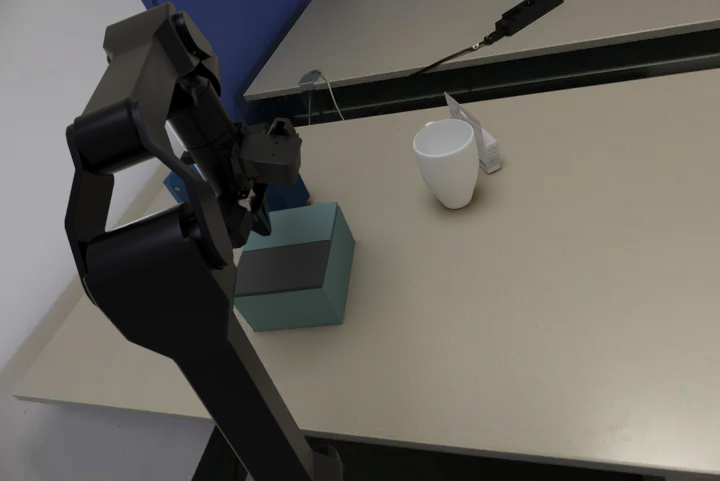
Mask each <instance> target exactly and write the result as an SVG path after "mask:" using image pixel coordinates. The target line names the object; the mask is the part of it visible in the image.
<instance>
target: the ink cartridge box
mask: <svg viewBox="0 0 720 481" xmlns="http://www.w3.org/2000/svg"><path fill="white" fill-rule="evenodd" d="M443 93H444V97H445V100H446V103H447V107H448V110H449V113H450V119H458V120H462V121H465V122H467V123H468V124H470V125H471V127H472V128H473V130H474V133H475V138H476V144H477V150H478V156H479V167H480V168H482V169H483V170H484V171H485V172H486V173H487V175H490V174H491V173H493V172H495V171H498V170H500V169H501V159H500V150H499V142H498V140H496V139H495V138H494V137H493V135H492V134H490V133H489V132H488V131H486V130H485V129H484V128H483V127H482V126H481V121H480V120H479V119H477V117H475V115H473V114H472V113H471V112H469V111H468V110H467V109H466V108H465V107H464V106H462V105H461V104H460V103H459V102H457V100H456V99H455V98H453V97H452V96H451V95H449V94H448V93H447V92H446V91H444V92H443ZM460 110H461V111H460Z"/></svg>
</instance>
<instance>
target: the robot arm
mask: <svg viewBox="0 0 720 481" xmlns="http://www.w3.org/2000/svg"><path fill="white" fill-rule="evenodd" d="M102 49H103V50H104V52H105V55H106V62H107V64H108V66H107V68H106V69H105V71H104V73H103V75H102V76H101V78H100V80H99V82H98V84H97V85H96V88H94V91H93V93H92V94H91V96H90V98H89V100H88V102H87V104H86V105H85V107H84V109H83V111H82V113H81V114H80V115H78V116H76V117H74V119H73V123H70V124H69V125H67V126H66V128H65V134H64V135H65V140H66V144H67V147H68V151H69V154H70V157H71V161H72V163H73V167H74V173H73V177H72V183H71V187H70V191H69V197H68V201H67V206H66V207H67V208H66V211H65V215H64V220H63V225H64V231H65V234H66V237H67V240H68V244H69V247H70V250H71V253H72V257H73V260H74V263H75V267H76V271H77V273H78V276H79V277H78V278H79V280H80V283H81V286H82V289H83V290H84V293H85V295H86V296H87V298H88V300H89V301H90V302H91V303H92V305H94V306H95V307H96V308H97V309H99V311H100V312H101V313H102V314H103V315H104V316H105V318H107V320H108V321H109V322H110V323H111V324H112V326H114V328H115V329H116V330H117V331H118V332H119V334H121V335H122V336H123V338H124V339H125V340H126V341H128V342H130V343H132V344H134V345H136V346H139V347H142V348H144V349H146V350H149V351H151V352H154V353H156V354H158V355H160V356H163V357H165V358H168V359H170V360H172V361H173V362H174V364H175V365H176V366H177V367H178V369H179V371H180V372H181V374H182V375H183V377H184V378H185V379H186V382H187V383H188V384H189V386H190V387H191V389H192V390H193V392H194V393H195V395H196V396H197V398H198V400H199V401H200V402H201V404H202V405H203V407H204V408H205V410H206V411H207V413H208V414H209V416H210V417H211V419H212V421H213V422H214V424H215V425H216V427H217V428H218V430H219V431H220V433H221V434H222V436H223V437H224V438H225V440H226V442H227V443H228V445H229V446H230V448H231V449H232V451H233V452H234V454H235V455H236V457H237V459H238V460H239V461H240V463H241V464H242V466H243V468H244V469H245V471H246V472H247V473H248V475H249V476H250V478H251V479H252V481H354V480H353V478H352V477H351V475H350V473H349V472H350V471H349V470H348V469H347V468H346V466H345V464H344V463H343V461H342V458H341V456H340V455H339V453H338V450H337V449H336V448H335V447H333V446H332V445H331V444H330V443H327V444H324V445H321V446H318V447H316V448H314V449H312V448H311V447H310V444H309V443H308V442H307V440H306V438H305V436H304V434H303V432H302V431H301V429H300V427H299V425H298V424H297V421H296V420H295V419H294V417H293V415H292V413H291V412H290V410H289V408H288V406H287V404H286V402H285V401H284V399H283V397H282V395H281V394H280V392H279V390H278V389H277V387H276V385H275V383H274V381H273V379H272V377H271V376H270V374H269V372H268V371H267V369H266V366H264V363H263V362H262V360H261V359H260V356H259V354H258V352H256V350H255V348H254V346H253V344H252V343H251V341H250V339H249V336H248V335H247V334H246V332H245V330H244V327H243V326H242V325H241V323H240V321H239V319H238V317H237V315H236V314H235V311H234V307H235V306H234V298H235V289H236V279H237V265H236V263H235V261H234V260H235V259H234V258H235V256H234V250H236V249H241V248H242V247H244V245H245V244H246V243H247V241H248V238H249V235H250V232H251V231H253V232H255V233H257V234H259V235H261V236H270V235H271V232H272V228H271V223H270V217H269V212H268V207H267V201H266V194H265V191H266V189H267V187H268V185H269V184H276V185H280V186H282V187H290V186H293V185H294V184H295V183H296V181H297V176H298V172H299V173H300V168H301V167H302V155H301V154H302V153H301V147H302V144H303V139H302V138H301V137H300V133H298V132H297V131H296V129H295V127H294V125H293V123H292V122H291V120H290V119H289V118H287V117H275V119H274V121H273V123H272V124H270V123H268V122H262V123H258V124H253V125H248V126H247V125H246V124H243V123H242V121H241V120H240V121H235V122H233V120H232V119H231V117H230V115H229V113H228V111H227V109H226V108H225V106H224V104H223V102H222V100H221V96H222V79H221V78H222V77H221V76H222V75H221V63H220V62H221V61H220V60H219V57H218V55H217V54H216V53H215V52H214V51H213V47H212V45H211V43H210V42H209V41H208V39H207V38H206V37H205V36H204V34H203V33H202V31H201V30H200V29H199V28H198V26H197V25H196V23H195V22H194V21H193V19H192V18H191V17H190V15H189V14H188V13H187V12H186V11H185V10H180V11H178V12H177V9H176V6H175V4H174V3H172V2H170V1H166V2H164V3H161V4H159V5H156V6H154V7H151V8H149V9H146V10H144V11H142V12H141V11H140V12H139V13H137V14H134V15H132V16H129V17H127V18H124V19H122V20H119V21H117V22H115V23H112V24H109V25H107V26H106V27H105V32H104V37H103V43H102ZM166 124H167V125H168V127H169V129H170V130H171V131H172V133H173V134H174V136H175V137H176V139H177V140H178V142H179V143H180V145H181V146H182V148H183V151H182V154H181V156H180V157H178V156H177V155H176V154H175V152H174V148H173V146H172V142H171V140H170V136H169V134H168V131H167V129H166ZM155 158H156V159H157V160H159V161H160V162H161V163H162V164H163V165H164V166H166V167H167V168H168V169H169V170H170V171H173V172H174V173H175V174H176V175H177V176H179V177H180V178H181V179H182V180H183V181H184V184H185V187H186V190H187V193H188V196H189V199H190V202H191V203H189V202H182V203H180V204H178V203H177V204H175V205H172V206H170V207H167V208H164V209H162V210H159V211H157V212H154V213H152V214H148V215H146V216H144V217H141V218H139V219H136V220H133V221H130V222H128V223H126V224H123V225H120V226H118V227H115V228H112V229H110V230H107V231H106V227H107V221H108V216H109V211H110V207H111V203H112V197H113V194H114V188H115V175H114V174H117V173H120V172H122V171H125V170H127V169H129V168H132V167H135V166H137V165H139V164H142V163H145V162H148V161H150V160H152V159H155ZM180 159H181V160H180ZM192 164H194V165H195V166H196V168H197V169H198V171H199V172H200V174H201V176H202V177H203V178H202V177H200V176H199V175H198V174H197V173H196V172H195V171H193V170H192V169H191V168H190V167H189V166H187V165H192ZM214 193H216V195H217V197H215V194H214Z"/></svg>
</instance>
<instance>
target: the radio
mask: <svg viewBox="0 0 720 481" xmlns="http://www.w3.org/2000/svg"><path fill="white" fill-rule="evenodd" d="M179 159H180V158H179ZM180 160H181V159H180ZM187 166H189V167H190V168H191V169H192V170H193V171H195V172H196V173H197V174H198V175H199V176H200V177H202V176H201V174H200V172H199V171H198V169H197V168H196V166H195V165H194V164H192V165H187ZM202 178H203V177H202ZM162 184H163V185H164V186H165V187H166V189H167V190H168V193H170V195H171V196H172V198H173V199H174V200H175V201H176V203H177V204H180V203H182V202H189V203H191V202H190V199H189V196H188V193H187V190H186V187H185V184H184V181H183V180H182V179H181V178H180V177H179V176H177V175H176V174H175V173H174V172H173V171H172V170H170V172H169V173H168V174H167V176H166V177H165V178H164V180H162ZM214 194H215V197H217V195H216V193H214ZM265 194H266V201H267V207H268V212H274V211H280V210H286V209H293V208H299V207H305V206H307V204H308V201H309V200H310V198H311V194H310V192H309V190H308V188H307V185H306V184H305V182H304V180H303V178H302V176H301V173H300V171H299V172H298V176H297V181H296V183H295V184H294V185H293V186H290V187H282V186H280V185H276V184H269V185H268V187H267V189H266V191H265Z"/></svg>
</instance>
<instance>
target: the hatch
mask: <svg viewBox="0 0 720 481" xmlns="http://www.w3.org/2000/svg"><path fill="white" fill-rule="evenodd" d="M329 247H330V241H323V242H315V243H308V244H301V245H293V246H286V247H279V248H271V249H264V250H257V251H249V252H242V251H241V254H240V257H239V259H238V262H237V265H236V268H237V279H236V289H235V296H239V295H248V294H257V293H266V292H275V291H284V290H293V289H302V288H311V287H320V286H322V282H323V277H324V272H325V267H326V262H327V257H328V252H329Z"/></svg>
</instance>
